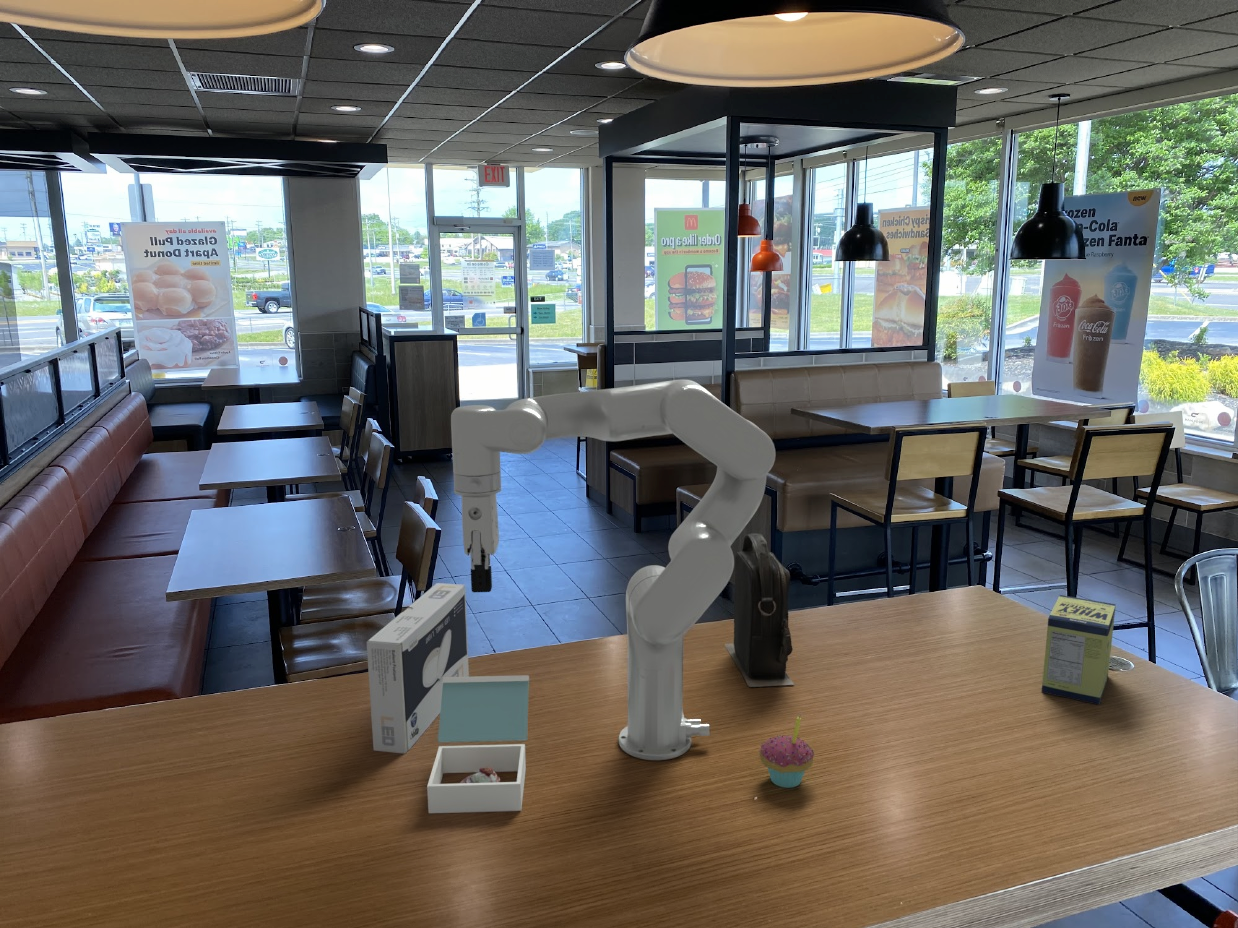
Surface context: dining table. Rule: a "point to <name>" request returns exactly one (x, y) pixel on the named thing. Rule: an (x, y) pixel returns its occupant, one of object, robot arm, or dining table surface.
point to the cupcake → (786, 758)
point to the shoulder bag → (761, 615)
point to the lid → (484, 709)
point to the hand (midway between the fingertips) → (481, 590)
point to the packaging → (416, 665)
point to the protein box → (1078, 649)
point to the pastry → (482, 776)
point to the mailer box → (477, 794)
